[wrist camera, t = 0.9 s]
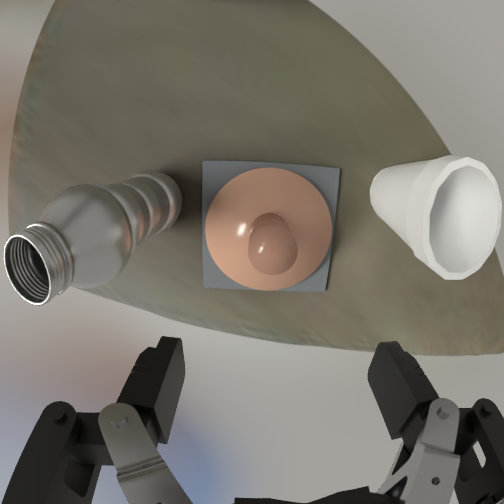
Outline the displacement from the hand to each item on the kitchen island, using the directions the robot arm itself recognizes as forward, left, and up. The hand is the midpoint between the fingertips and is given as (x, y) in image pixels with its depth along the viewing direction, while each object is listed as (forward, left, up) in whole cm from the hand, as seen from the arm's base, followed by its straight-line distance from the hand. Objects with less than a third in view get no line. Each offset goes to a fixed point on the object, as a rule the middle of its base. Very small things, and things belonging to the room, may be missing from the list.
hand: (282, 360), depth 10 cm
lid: (0, 0, -20) cm, 20 cm away
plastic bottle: (-3, -12, -20) cm, 23 cm away
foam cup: (-5, +14, -20) cm, 25 cm away
